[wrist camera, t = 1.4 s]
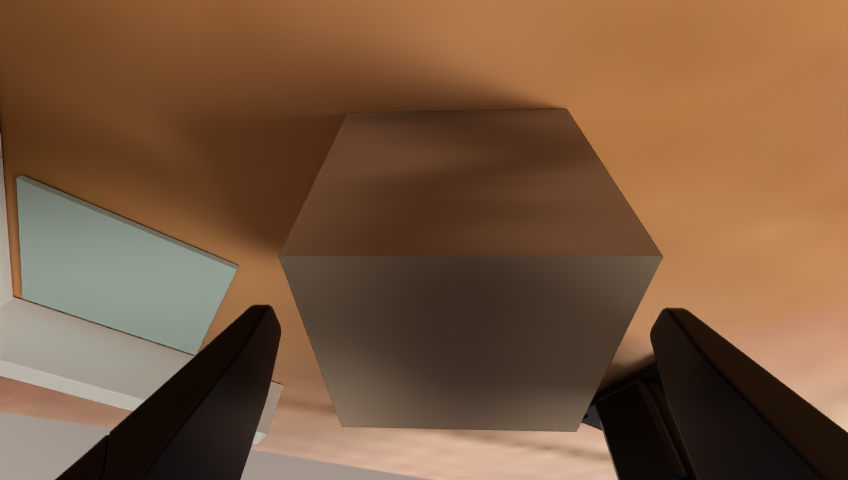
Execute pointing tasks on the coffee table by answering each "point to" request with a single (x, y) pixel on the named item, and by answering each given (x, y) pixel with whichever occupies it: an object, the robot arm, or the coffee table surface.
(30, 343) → the white angled bracket
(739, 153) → the coffee table surface
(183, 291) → the pad
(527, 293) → the walnut cube
